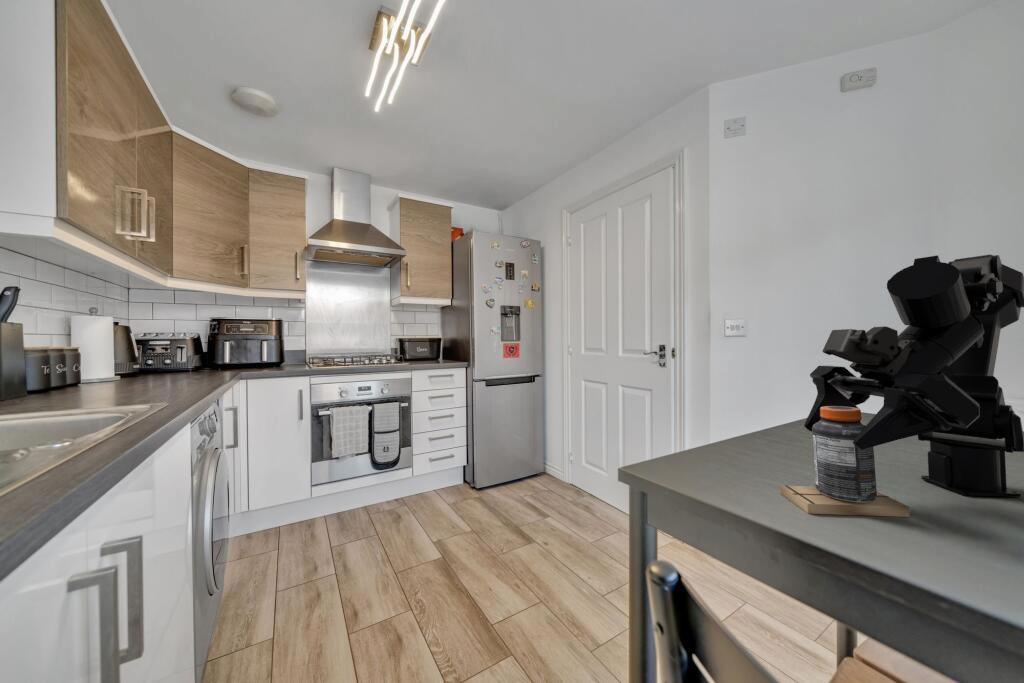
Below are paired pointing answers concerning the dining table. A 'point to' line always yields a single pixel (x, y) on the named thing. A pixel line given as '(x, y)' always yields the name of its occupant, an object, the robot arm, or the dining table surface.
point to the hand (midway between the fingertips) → (829, 436)
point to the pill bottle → (842, 456)
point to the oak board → (842, 503)
